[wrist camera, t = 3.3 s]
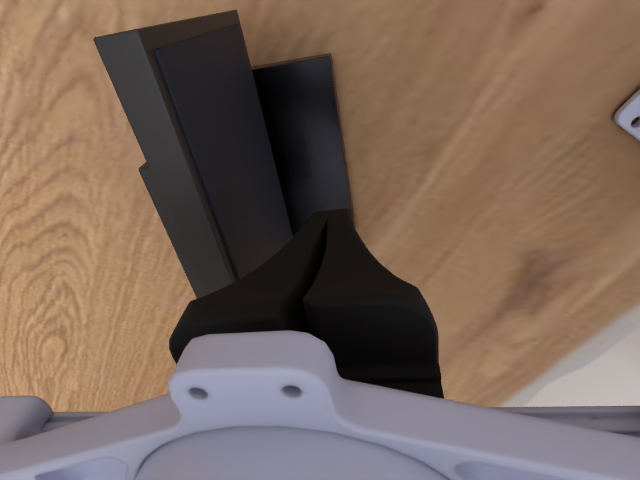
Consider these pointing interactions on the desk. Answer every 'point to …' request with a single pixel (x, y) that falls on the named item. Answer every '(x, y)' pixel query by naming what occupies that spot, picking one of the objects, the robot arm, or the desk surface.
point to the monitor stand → (305, 135)
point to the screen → (201, 143)
